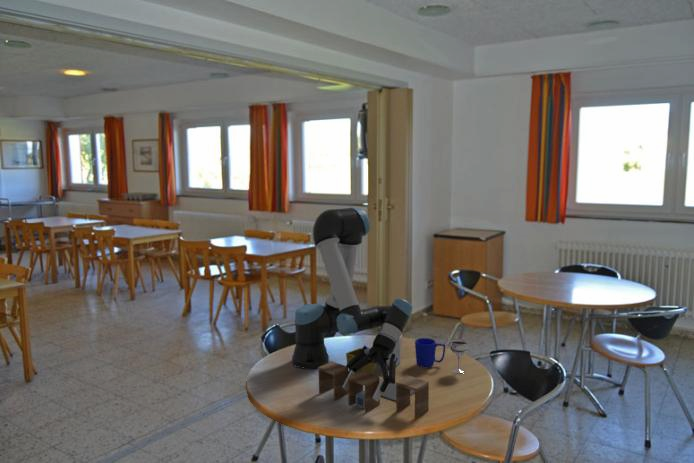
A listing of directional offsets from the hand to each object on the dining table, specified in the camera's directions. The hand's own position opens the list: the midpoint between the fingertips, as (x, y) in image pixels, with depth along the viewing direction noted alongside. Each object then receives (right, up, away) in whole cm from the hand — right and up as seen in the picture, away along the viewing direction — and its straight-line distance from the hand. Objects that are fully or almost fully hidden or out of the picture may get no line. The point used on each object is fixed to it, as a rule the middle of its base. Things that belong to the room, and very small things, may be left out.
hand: (359, 394), depth 180 cm
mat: (+13, -3, +12) cm, 18 cm away
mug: (+29, 0, +36) cm, 47 cm away
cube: (+2, -5, +2) cm, 5 cm away
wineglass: (+39, 0, +30) cm, 50 cm away
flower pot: (+1, -1, +28) cm, 28 cm away
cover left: (-9, -3, +12) cm, 15 cm away
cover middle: (+2, -4, +2) cm, 5 cm away
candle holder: (+13, +1, +40) cm, 42 cm away
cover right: (+17, -5, -2) cm, 18 cm away
